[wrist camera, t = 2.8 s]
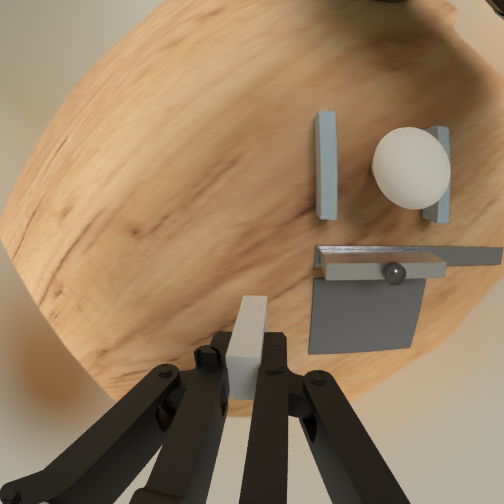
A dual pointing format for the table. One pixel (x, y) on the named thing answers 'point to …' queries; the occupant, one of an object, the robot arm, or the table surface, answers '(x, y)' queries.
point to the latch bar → (381, 265)
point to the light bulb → (411, 168)
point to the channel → (328, 169)
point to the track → (446, 253)
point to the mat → (364, 315)
